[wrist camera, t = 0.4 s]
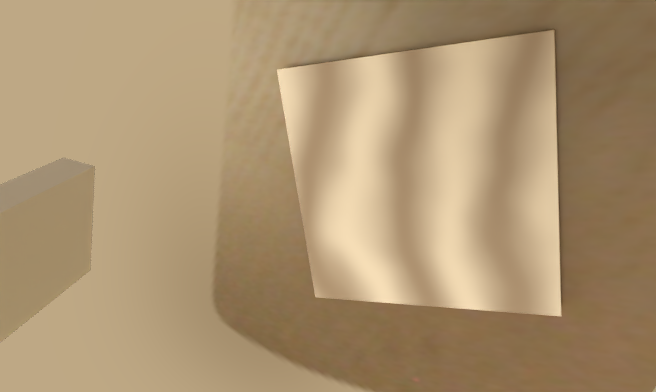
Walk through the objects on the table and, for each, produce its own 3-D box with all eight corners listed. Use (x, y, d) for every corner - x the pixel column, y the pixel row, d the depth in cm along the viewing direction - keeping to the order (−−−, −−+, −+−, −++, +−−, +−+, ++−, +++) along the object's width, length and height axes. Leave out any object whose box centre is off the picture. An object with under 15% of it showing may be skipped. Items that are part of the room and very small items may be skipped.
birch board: (554, 29, 30) (554, 29, 28) (561, 305, 34) (561, 316, 33) (286, 67, 37) (276, 69, 36) (323, 288, 42) (315, 297, 41)
